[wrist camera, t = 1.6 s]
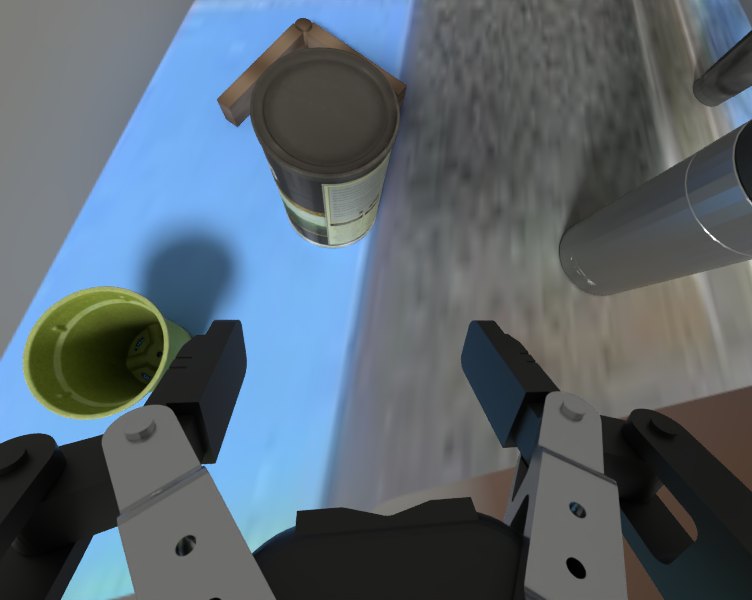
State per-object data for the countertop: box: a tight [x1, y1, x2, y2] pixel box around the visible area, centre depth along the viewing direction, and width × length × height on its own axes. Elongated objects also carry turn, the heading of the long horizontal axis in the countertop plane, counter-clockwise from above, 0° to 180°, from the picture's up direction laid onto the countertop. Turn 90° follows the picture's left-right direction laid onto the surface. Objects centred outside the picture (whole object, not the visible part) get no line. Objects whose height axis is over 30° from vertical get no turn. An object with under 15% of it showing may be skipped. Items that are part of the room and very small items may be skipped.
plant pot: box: [23, 286, 192, 420], centre depth 27 cm, size 9×9×9 cm
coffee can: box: [250, 47, 400, 248], centre depth 29 cm, size 10×10×14 cm
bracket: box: [217, 18, 407, 127], centre depth 37 cm, size 11×21×3 cm, turn 100°
